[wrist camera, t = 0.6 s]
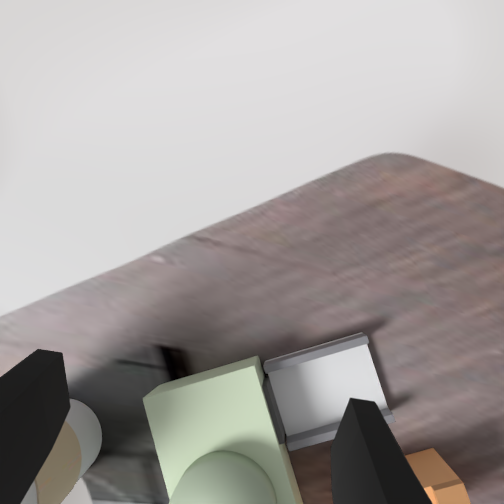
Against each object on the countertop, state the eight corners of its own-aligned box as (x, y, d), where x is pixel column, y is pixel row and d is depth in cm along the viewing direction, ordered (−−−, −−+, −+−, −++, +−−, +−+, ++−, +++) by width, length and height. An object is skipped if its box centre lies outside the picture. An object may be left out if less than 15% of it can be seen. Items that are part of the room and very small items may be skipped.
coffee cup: (5, 401, 35) (-203, 489, 20) (98, 372, 35) (-45, 442, 20) (30, 502, 34) (-168, 673, 19) (126, 475, 34) (-2, 629, 19)
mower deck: (415, 493, 32) (445, 544, 26) (205, 549, 33) (186, 609, 27) (359, 325, 33) (375, 335, 27) (159, 384, 34) (131, 407, 28)
